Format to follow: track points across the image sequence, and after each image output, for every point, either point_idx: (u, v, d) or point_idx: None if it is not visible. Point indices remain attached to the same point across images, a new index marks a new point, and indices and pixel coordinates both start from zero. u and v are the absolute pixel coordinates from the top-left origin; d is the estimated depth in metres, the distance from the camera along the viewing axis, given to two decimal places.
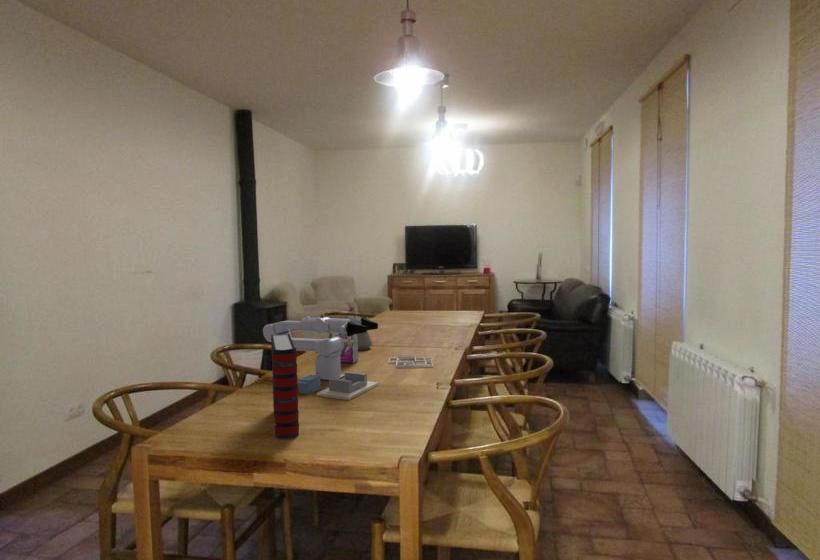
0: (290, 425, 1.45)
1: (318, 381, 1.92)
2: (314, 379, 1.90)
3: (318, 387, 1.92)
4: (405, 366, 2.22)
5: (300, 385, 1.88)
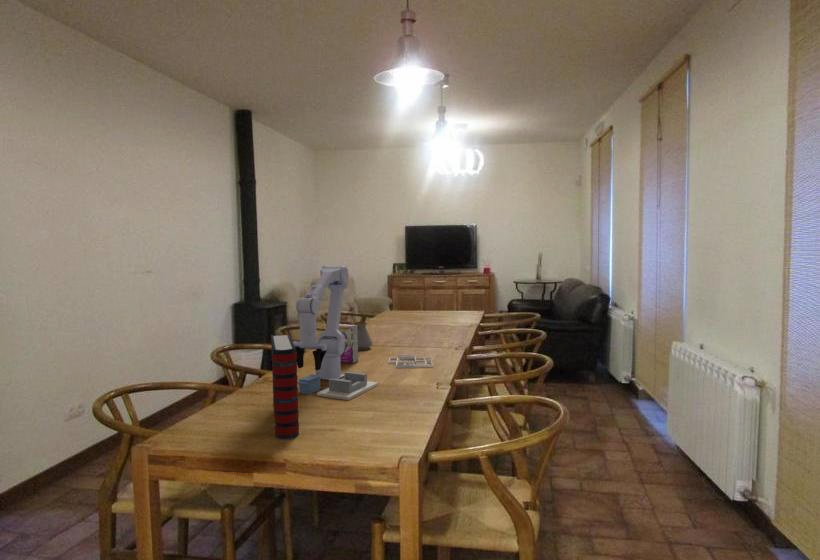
0: (290, 425, 1.45)
1: (318, 381, 1.92)
2: (314, 379, 1.90)
3: (318, 387, 1.92)
4: (405, 366, 2.22)
5: (300, 385, 1.88)
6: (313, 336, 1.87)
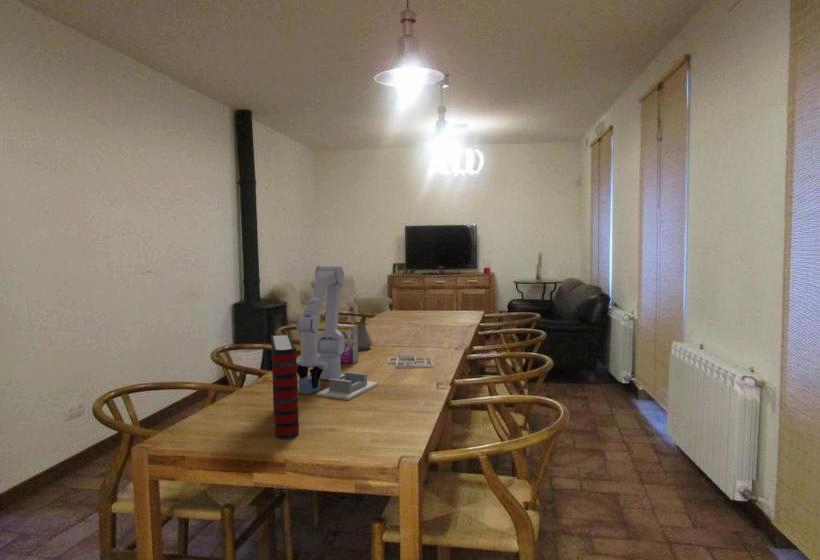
0: (290, 425, 1.45)
1: None
2: None
3: (318, 387, 1.92)
4: (405, 366, 2.22)
5: (300, 385, 1.88)
6: (313, 354, 1.88)
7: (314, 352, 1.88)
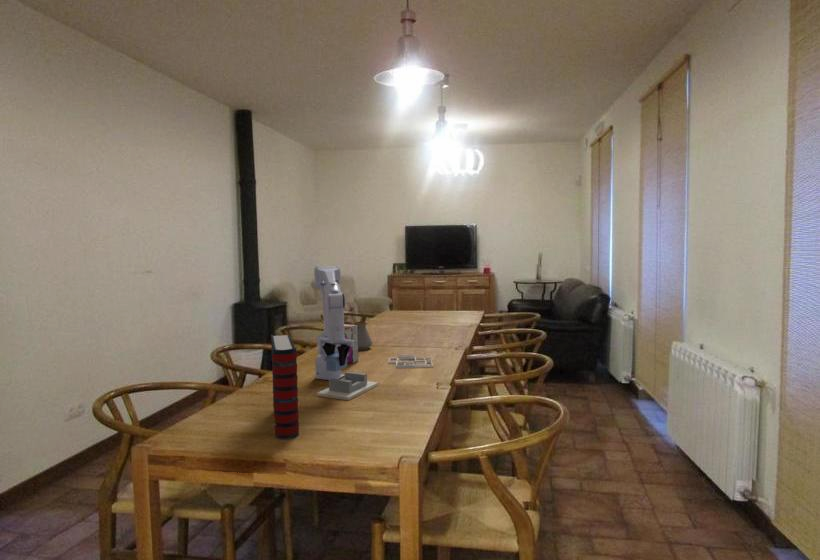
0: (290, 425, 1.45)
1: None
2: None
3: (345, 365, 1.91)
4: (405, 366, 2.22)
5: (327, 362, 1.87)
6: (341, 331, 1.87)
7: (341, 329, 1.87)
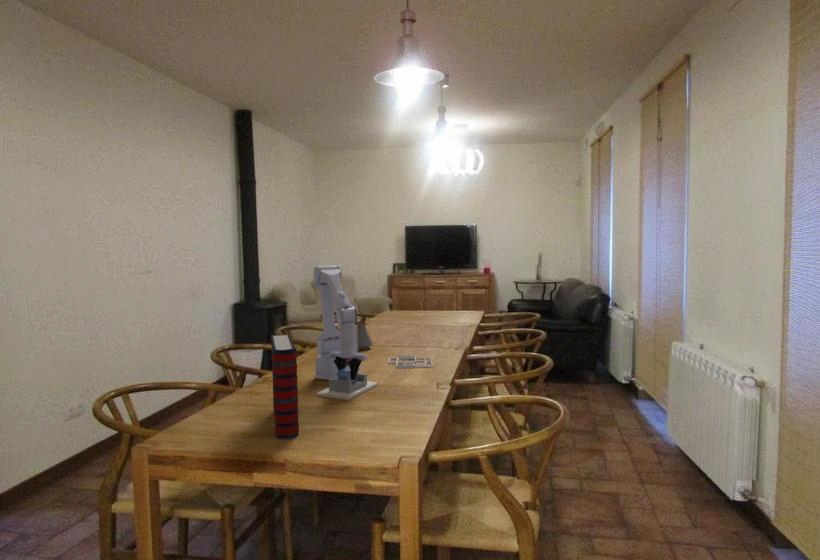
0: (290, 425, 1.45)
1: None
2: None
3: (356, 379, 1.92)
4: (405, 366, 2.22)
5: (339, 376, 1.88)
6: (352, 346, 1.88)
7: (353, 344, 1.88)
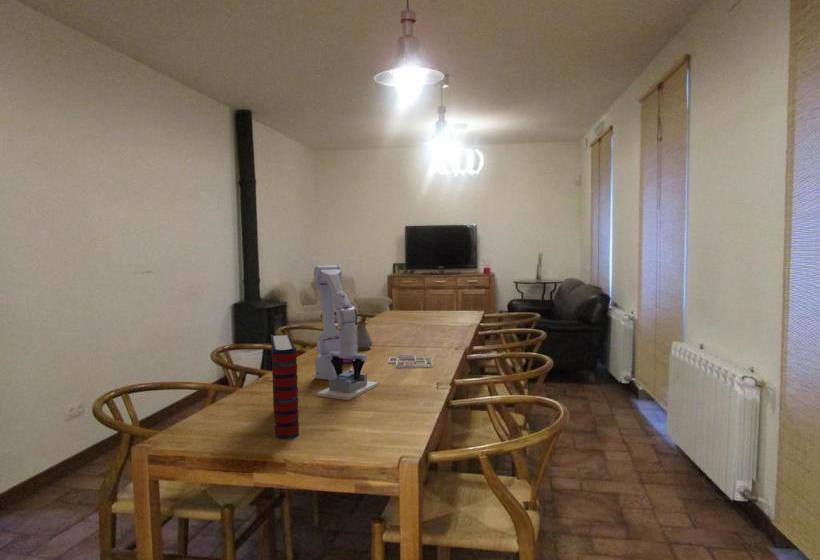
0: (290, 425, 1.45)
1: None
2: (352, 375, 1.89)
3: None
4: (405, 366, 2.22)
5: None
6: (352, 346, 1.88)
7: (353, 344, 1.88)
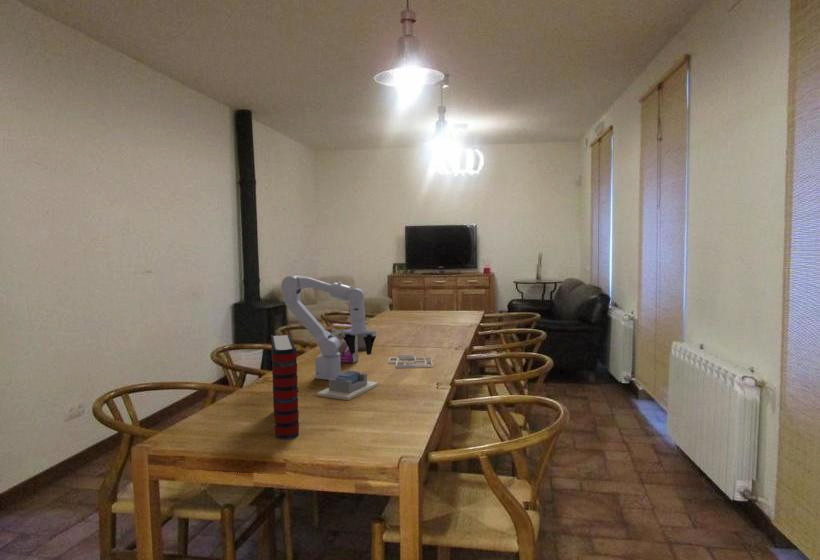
0: (290, 425, 1.45)
1: (356, 377, 1.92)
2: (352, 375, 1.89)
3: None
4: (405, 366, 2.22)
5: None
6: (363, 323, 2.04)
7: (363, 321, 2.04)
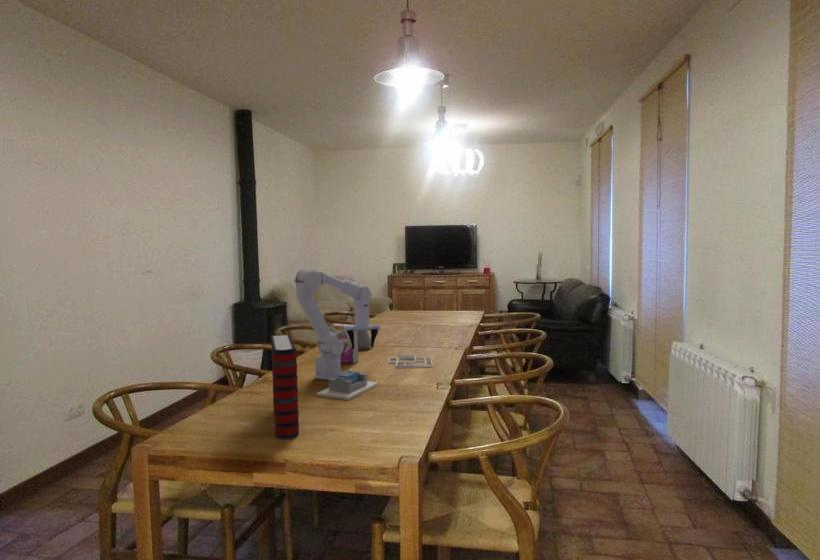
0: (290, 425, 1.45)
1: (356, 377, 1.92)
2: (352, 375, 1.89)
3: None
4: (405, 366, 2.22)
5: None
6: None
7: (368, 317, 2.16)
